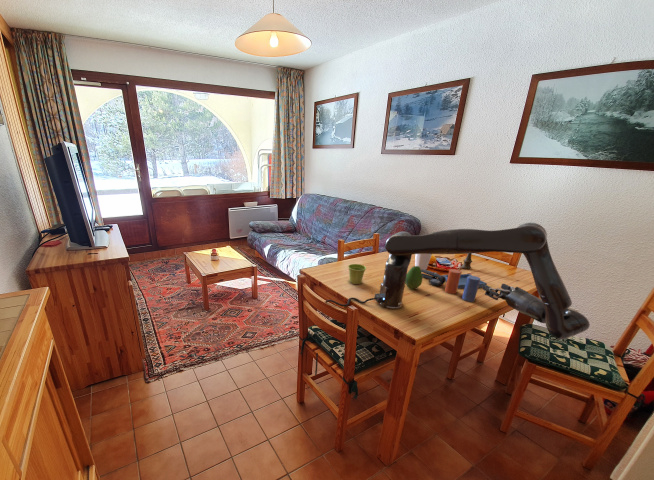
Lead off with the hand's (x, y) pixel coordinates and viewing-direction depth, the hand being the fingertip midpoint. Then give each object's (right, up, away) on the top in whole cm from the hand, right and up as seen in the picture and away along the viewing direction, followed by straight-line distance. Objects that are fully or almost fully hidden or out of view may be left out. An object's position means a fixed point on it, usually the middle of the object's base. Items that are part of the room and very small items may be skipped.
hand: (492, 286), depth 131 cm
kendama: (+21, +10, +53) cm, 58 cm away
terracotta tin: (-5, -3, +23) cm, 24 cm away
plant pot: (-50, +1, +34) cm, 60 cm away
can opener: (-9, +2, +35) cm, 37 cm away
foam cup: (-6, +9, +53) cm, 55 cm away
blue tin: (-1, -6, +15) cm, 16 cm away
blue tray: (+7, +1, +33) cm, 34 cm away
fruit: (-23, -2, +26) cm, 35 cm away
